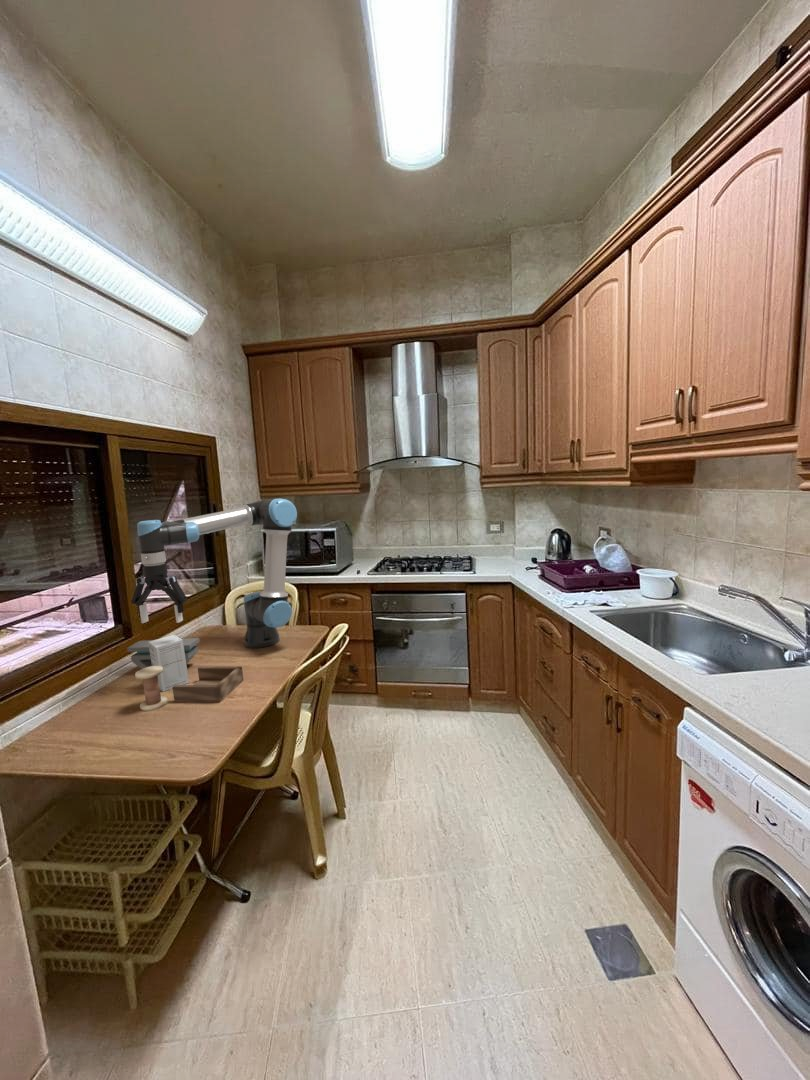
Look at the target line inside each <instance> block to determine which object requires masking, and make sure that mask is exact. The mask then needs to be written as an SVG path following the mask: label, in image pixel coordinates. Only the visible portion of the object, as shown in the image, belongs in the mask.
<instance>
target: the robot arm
mask: <svg viewBox="0 0 810 1080" xmlns="http://www.w3.org/2000/svg"><path fill="white" fill-rule="evenodd" d="M297 511H298V510H297V508H296V506H295V504H293V503H292V502H291V501H290V500H288V499H285V498H264V499H259V500H257V501H254V502H250V503H246V504H243V505H242V507H237V508H232V509H228V510H222V511H217V512H212V513H206V514H202V515H197V516H191V517H186V518H181V519H178V520H173V521H170V520H168V521H163V522H161V521H162V520H160V519H149V520H142V521H139V522H138V523H137V524H136V526H137V537H138V544H139V551H140V557H141V558H140V559H141V564H142V565H143V566H142V573H143V576H141V577H138V578H136V585H135V590H134V592H133V595H132V599H131V604H132V605H136V607H137V611H138V614H139V615H140V623H141V624H144V623H147V622H149V620H150V619H149V614H148V607H147V606H148V605H147V603H145V602H146V600H147V599H148V597H149V595H150V594H151V592H152V591H162V592H164V593H165V594H166V595H167V596H168V597H169V598H170V599H171V600H172V601H173V602H174V603H175V604H174V605H173V607H174V614H175V621H176V622H175V623H178V624H179V623H181V622H182V621H184V617H183V612H184V603H186V602H187V601H188V600H189V598H188V597H187V595H186V594H185V592H184V591H183V589H182V588H181V585H180V584H179V582H178V579H177V576H176V575H173V576H170V577H168V565H167V556H166V548H165V547H166V546H171V545H179V544H191V543H195V542H197V541H198V540H199V539H200V536H201V535H205V534H210V533H215V532H219V531H224V530H228V529H232V528H237V527H241V526H246V525H247V527H253V526H262V530H263V532H264V533H265V535H266V537H265V539H266V540H265V554H264V555H265V556H264V575H263V578H264V579H263V590H259V591H255V592H254V591H253V592H250V593H247V594H245V595H244V596H243V606H244V614H245V615H244V616H245V621H246V631H245V636H244V646H245V647H246V648H250V649H261V648H266V647H270V646H273V645H275V644H277V643H278V642H279V641H280V639H281V636H280V633H279V632H278V628H281V627H283V626H286V624H287V623H288V622H289V621H290V619H291V617H292V615H293V609H292V606H291V604H290V603H289V595H288V593H287V592H286V590H285V587H286V574H287V573H286V572H287V571H286V569H287V554H288V553H287V551H288V537H289V534H290V533H291V532H292V527H293V525H294V523H296V521H297V518H298V512H297ZM145 584H146V585H145Z"/></svg>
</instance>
